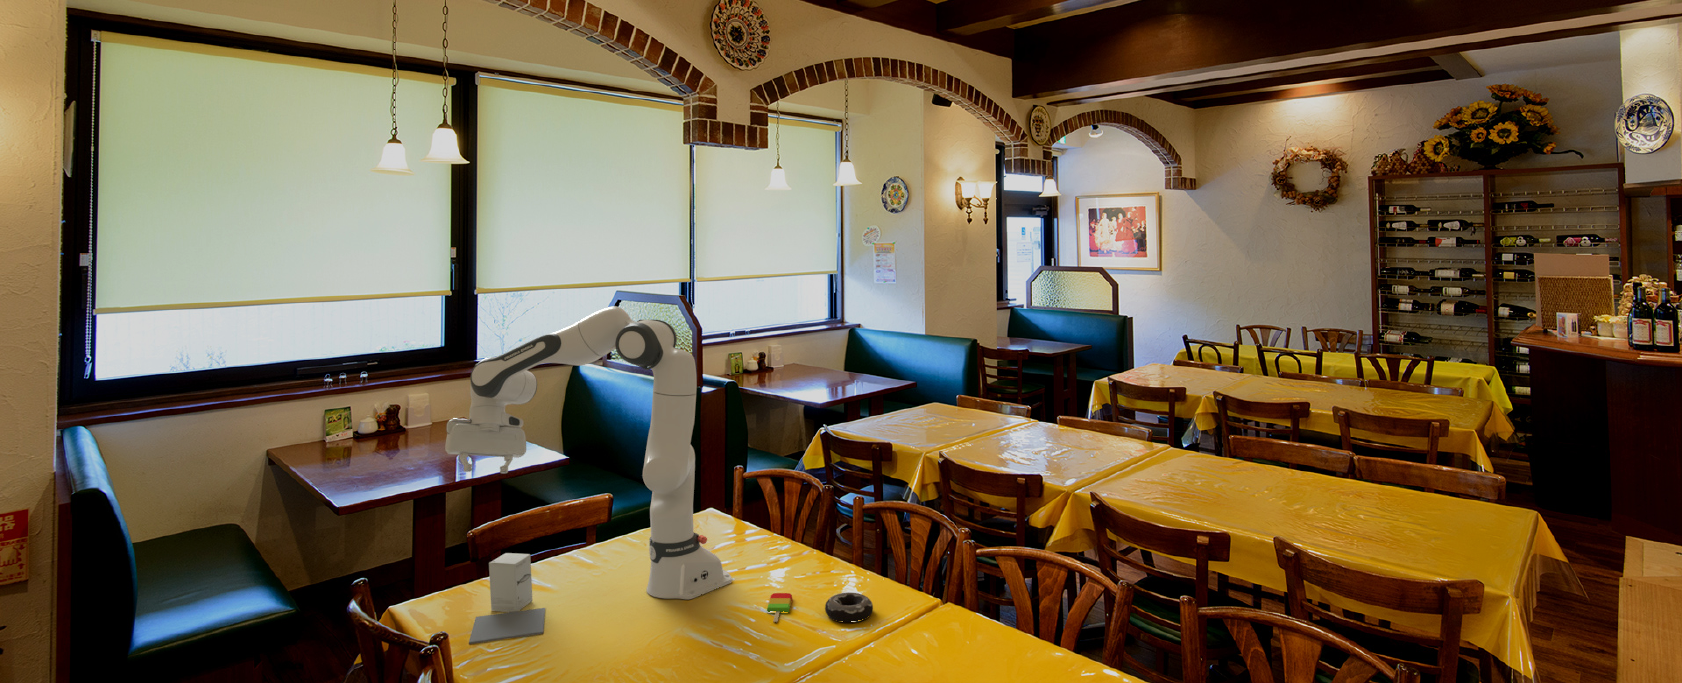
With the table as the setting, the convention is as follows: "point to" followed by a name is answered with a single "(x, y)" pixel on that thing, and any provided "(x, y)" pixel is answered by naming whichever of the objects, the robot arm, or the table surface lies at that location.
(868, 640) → the table surface
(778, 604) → the popsicle
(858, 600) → the donut
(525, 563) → the supplement box
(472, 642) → the rubber mat
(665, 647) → the table surface
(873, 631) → the table surface
